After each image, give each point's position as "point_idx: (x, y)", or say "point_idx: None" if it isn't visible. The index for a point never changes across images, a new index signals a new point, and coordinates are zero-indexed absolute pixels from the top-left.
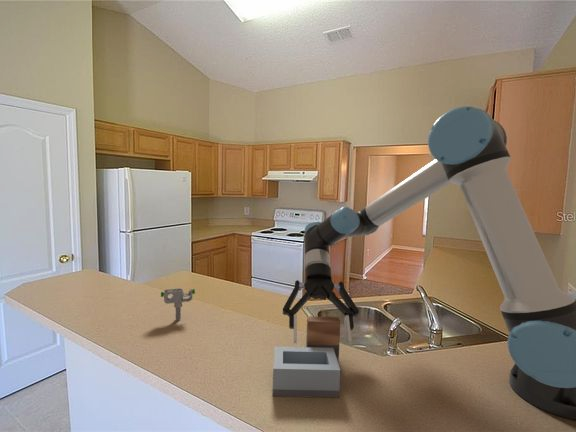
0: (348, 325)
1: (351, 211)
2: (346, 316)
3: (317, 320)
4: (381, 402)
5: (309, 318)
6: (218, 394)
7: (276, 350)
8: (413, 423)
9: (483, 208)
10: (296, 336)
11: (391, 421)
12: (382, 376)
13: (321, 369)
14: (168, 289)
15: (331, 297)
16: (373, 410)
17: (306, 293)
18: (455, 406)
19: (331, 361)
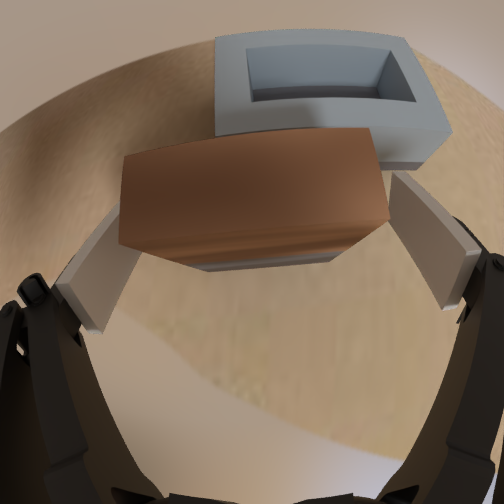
0: (92, 239)
1: None
2: (69, 276)
3: (298, 146)
4: (140, 98)
5: (368, 175)
6: (474, 100)
7: (437, 109)
8: (114, 73)
9: None
10: (400, 177)
11: (145, 64)
12: (98, 188)
13: (272, 31)
14: None
15: (103, 463)
16: (165, 75)
17: (483, 462)
18: (37, 134)
19: (236, 60)
